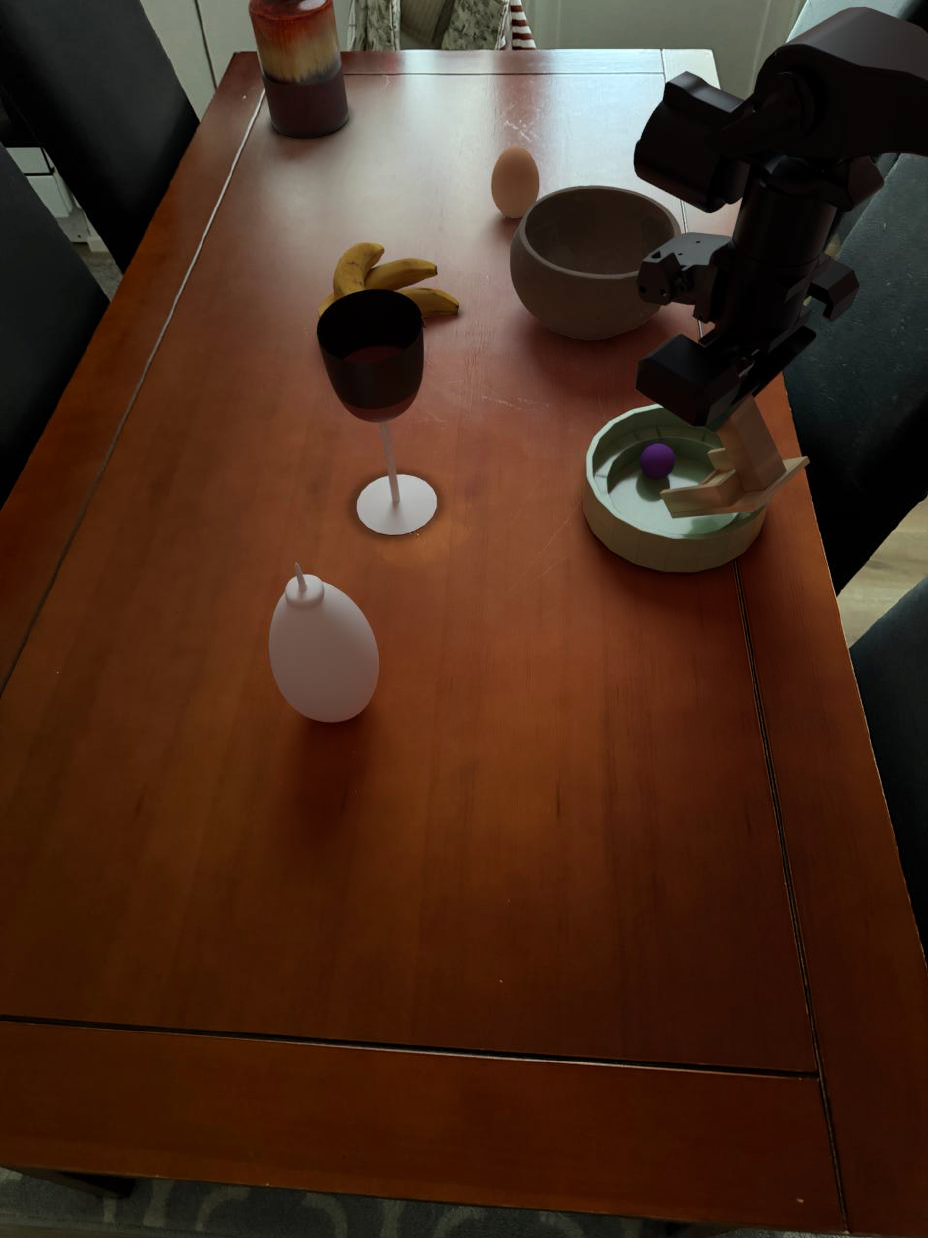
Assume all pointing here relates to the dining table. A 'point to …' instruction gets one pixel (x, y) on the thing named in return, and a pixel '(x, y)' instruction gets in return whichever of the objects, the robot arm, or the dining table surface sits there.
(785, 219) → the robot arm
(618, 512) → the green bowl
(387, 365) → the wineglass
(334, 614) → the sauce bottle
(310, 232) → the dining table surface
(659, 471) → the ball
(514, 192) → the egg
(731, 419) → the scoop
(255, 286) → the dining table surface
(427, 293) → the banana
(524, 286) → the bowl
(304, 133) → the vase
